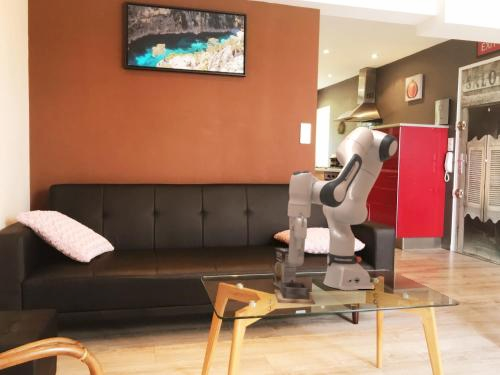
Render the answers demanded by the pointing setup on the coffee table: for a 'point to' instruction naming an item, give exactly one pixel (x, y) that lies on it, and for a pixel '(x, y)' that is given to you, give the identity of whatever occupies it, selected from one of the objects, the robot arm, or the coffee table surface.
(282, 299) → the can stand
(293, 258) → the energy drink can
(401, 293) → the coffee table surface
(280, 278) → the coffee box
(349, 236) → the robot arm
